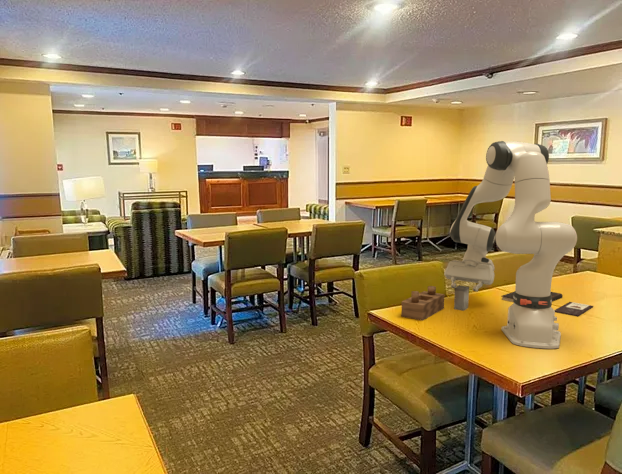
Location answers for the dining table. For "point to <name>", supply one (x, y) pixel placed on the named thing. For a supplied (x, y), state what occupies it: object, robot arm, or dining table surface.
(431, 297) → the brown block with knob
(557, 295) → the hardcover book
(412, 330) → the dining table surface
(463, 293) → the grey upright block
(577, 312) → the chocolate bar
